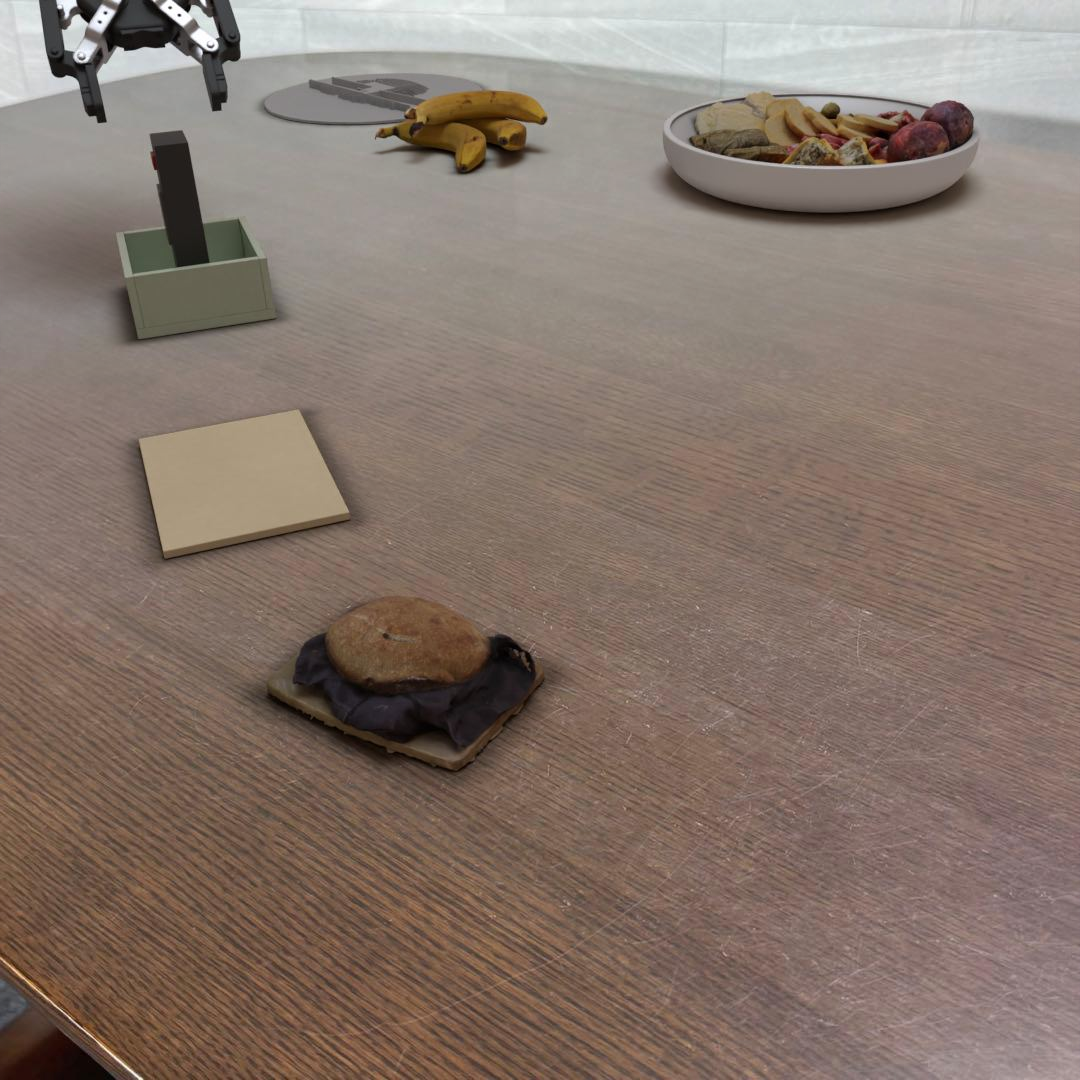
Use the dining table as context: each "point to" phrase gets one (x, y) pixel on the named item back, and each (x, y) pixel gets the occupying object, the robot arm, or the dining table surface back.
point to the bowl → (821, 150)
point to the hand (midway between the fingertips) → (160, 111)
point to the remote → (179, 198)
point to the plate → (362, 97)
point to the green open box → (196, 280)
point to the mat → (238, 483)
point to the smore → (410, 679)
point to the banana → (469, 123)
